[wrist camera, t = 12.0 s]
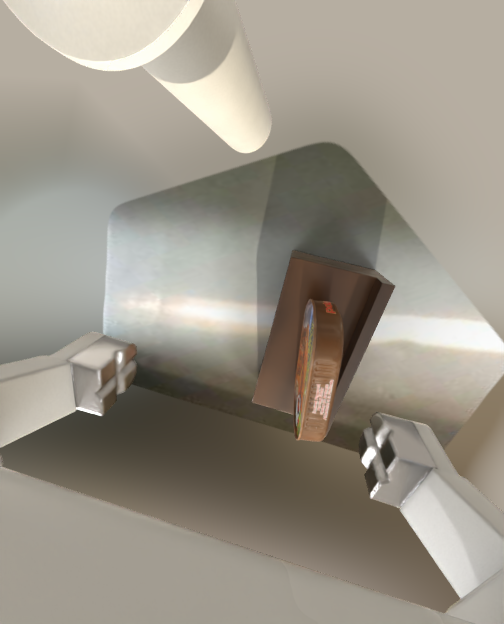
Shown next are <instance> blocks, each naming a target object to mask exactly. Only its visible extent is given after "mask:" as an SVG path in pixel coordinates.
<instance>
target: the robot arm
mask: <svg viewBox="0 0 504 624" xmlns="http://www.w3.org/2000/svg"><path fill="white" fill-rule="evenodd" d="M136 355H137V346H136V345H135V344H134V343H130V342H127V341H124V340H121V339H117V338H114V337H111V336H106V335H104V334H100V333H97V332H89V333H87V334H85V335H84V336H82V337H81V338H79V339H77V340H75V341H74V342H72V343H71V344H69V345H67V346H66V347H64V348H62V349H61V350H59V351H57V352H56V353H54V354H52V355H51V356H46V355H43V356H38V357H34V358H29V359H25V360H21V361H16V362H11V363H7V364H2V365H0V447H3V446H4V445H7V444H9V443H11V442H13V441H15V440H17V439H19V438H21V437H23V436H25V435H27V434H29V433H31V432H33V431H35V430H38V429H40V428H42V427H44V426H46V425H48V424H50V423H51V422H54V421H56V420H58V419H60V418H62V417H64V416H66V415H68V414H70V413H73V412H75V411H76V409H78V410H81V411H85V412H89V413H92V414H96V415H100V416H103V415H104V414H105V413H106V412H107V410H108V409H109V408H110V407H111V406H112V405H113V404H114V403H115V402H116V400H117V394H120V393H122V392H124V391H126V390H127V388H129V387H130V385H131V384H132V382H133V380H134V378H135V375H136V371H137V364H136V363H135V361H134V360H133V357H134V356H136ZM370 423H371V427H369V428H367V429H365V430H364V431H363V433H362V435H361V437H360V442H359V454H360V459H361V461H362V463H363V464H364V465H365V467H366V468H367V469H368V470H367V471H366V473H365V479H366V483H367V488H368V492H369V495H370V498H372V499H374V500H378V501H380V502H384V503H386V504H389V505H392V506H395V507H398V508H401V509H400V511H401V512H402V513H403V515H404V516H405V518H406V520H407V521H408V522H409V524H410V525H411V527H412V528H413V530H414V531H415V533H416V534H417V536H418V537H419V539H420V540H421V541H422V543H423V544H424V546H425V547H426V549H427V550H428V552H429V553H430V555H431V556H432V558H433V559H434V560H435V562H436V563H437V565H438V566H439V568H440V569H441V571H442V572H443V574H444V575H445V576H446V578H447V579H448V581H449V582H450V583H451V585H452V587H453V588H454V590H455V591H456V592H457V594H458V595H459V597H460V598H461V599H460V600H459V601H457V602H456V603H455V604H453V605H452V606H450V607H449V608H448V610H447V612H446V613H445V614H444V613H441V612H438V611H435V610H432V609H429V608H426V607H423V606H420V605H417V604H414V603H411V602H408V601H405V600H402V599H399V598H396V597H393V596H390V595H387V594H384V593H381V592H378V591H375V590H372V589H369V588H366V587H363V586H360V585H357V584H354V583H351V582H347V581H345V580H342V579H339V578H336V577H333V576H330V575H327V574H324V573H321V572H318V571H315V570H312V569H309V568H306V567H303V566H300V565H297V564H293V563H291V562H288V561H285V560H282V559H278V558H276V557H273V556H269V555H267V554H263V553H261V552H258V551H254V550H252V549H249V548H246V547H242V546H239V545H236V544H233V543H230V542H227V541H224V540H221V539H218V538H215V537H212V536H209V535H206V534H203V533H200V532H197V531H194V530H191V529H188V528H185V527H182V526H179V525H176V524H173V523H170V522H167V521H164V520H161V519H158V518H155V517H152V516H149V515H146V514H143V513H140V512H137V511H134V510H131V509H128V508H124V507H121V506H118V505H115V504H112V503H109V502H106V501H103V500H100V499H97V498H94V497H91V496H88V495H85V494H82V493H79V492H76V491H73V490H70V489H67V488H64V487H61V486H58V485H55V484H52V483H49V482H46V481H43V480H40V479H37V478H34V477H30V476H27V475H25V474H22V473H19V472H15V471H13V470H10V469H7V468H4V467H2V465H3V460H2V457H1V454H0V624H504V512H503V511H502V510H500V509H499V508H498V507H497V506H496V505H495V504H494V503H493V502H491V501H490V500H489V499H488V498H487V497H486V496H485V495H484V494H483V493H481V492H480V491H479V490H478V489H477V488H476V487H475V486H474V485H473V484H471V483H470V482H469V481H468V480H467V479H466V478H464V477H461V476H459V475H458V473H457V472H456V470H455V468H454V467H453V465H452V463H451V462H450V460H449V458H448V457H447V455H446V453H445V451H444V450H443V448H442V446H441V445H440V443H439V441H438V440H437V438H436V436H435V434H434V433H433V431H432V429H431V428H430V427H429V426H427V425H426V424H422V423H418V422H414V421H410V420H409V421H408V420H405V419H401V418H398V417H394V416H390V415H387V414H383V413H379V412H376V413H374V414H373V415H372V417H371V419H370Z"/></svg>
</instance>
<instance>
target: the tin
mask: <svg viewBox="0 0 504 624" xmlns="http://www.w3.org/2000/svg"><path fill="white" fill-rule="evenodd" d="M342 355H343V322H342V317H341V315H340V313H339V311H338V308H337V306H336V305H335V304H334V303H333V302H328V301H315V300H313V299H309V301H308V303H307V305H306V308H305V313H304V319H303V326H302V333H301V340H300V348H299V355H298V362H297V370H296V377H295V388H294V433H295V438H296V440H308V441H322V440H323V439H324V437H325V435H326V433H327V429H328V425H329V421H330V416H331V412H332V407H333V402H334V397H335V393H336V388H337V383H338V378H339V373H340V368H341V362H342Z"/></svg>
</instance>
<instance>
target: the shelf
mask: <svg viewBox="0 0 504 624" xmlns="http://www.w3.org/2000/svg"><path fill="white" fill-rule="evenodd" d="M394 288H395V286H394V285H393V284H392V283H391V282H389V281H388V280H387V279H386V278H384V277H383V276H382V275H381V274H380V273H378V272H377V271H376V270H373V269H369V268H365V267H361V266H356V265H352V264H348V263H344V262H340V261H336V260H332V259H328V258H323V257H319V256H315V255H311V254H307V253H303V252H299V251H294V250H293V251H292V254H291V258H290V262H289V266H288V269H287V273H286V277H285V280H284V284H283V288H282V292H281V295H280V299H279V303H278V306H277V310H276V314H275V318H274V321H273V325H272V329H271V332H270V336H269V340H268V344H267V347H266V351H265V355H264V358H263V362H262V366H261V370H260V373H259V377H258V381H257V384H256V388H255V392H254V396H253V399H252V402H254V403H257V404H260V405H264V406H267V407H270V408H273V409H277V410H280V411H283V412H287V413H290V414H293V415H294V388H295V377H296V370H297V362H298V355H299V348H300V340H301V333H302V326H303V319H304V313H305V308H306V305H307V303H308V301H309V299H313V300H315V301H328V302H333V303H334V304H335V305H336V306H337V308H338V311H339V313H340V315H341V317H342V322H343V355H342V362H341V368H340V373H339V378H338V383H337V388H336V393H335V397H334V402H333V407H332V412H331V416H330V421H329V425H328V429H327V433H326V435H325V436H327V434H328V431H329V429H330V427H331V425H332V423H333V420H334V418H335V416H336V414H337V412H338V410H339V407H340V405H341V403H342V401H343V399H344V397H345V394H346V392H347V390H348V388H349V386H350V384H351V381H352V379H353V377H354V375H355V373H356V370H357V368H358V366H359V364H360V362H361V360H362V357H363V355H364V353H365V351H366V349H367V347H368V344H369V342H370V340H371V338H372V336H373V333H374V331H375V329H376V327H377V325H378V323H379V320H380V318H381V316H382V314H383V312H384V310H385V307H386V305H387V303H388V301H389V299H390V297H391V294H392V292H393V290H394Z"/></svg>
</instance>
